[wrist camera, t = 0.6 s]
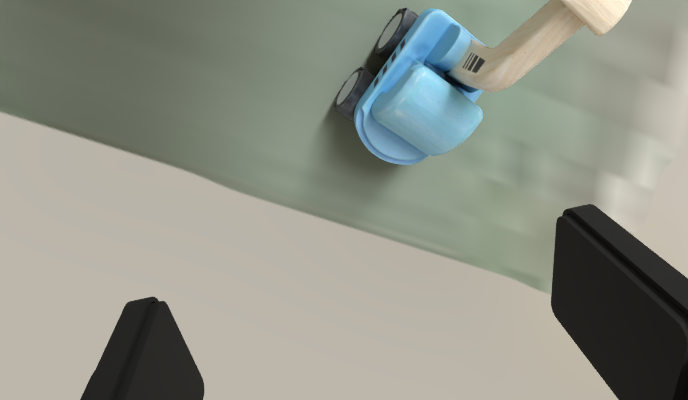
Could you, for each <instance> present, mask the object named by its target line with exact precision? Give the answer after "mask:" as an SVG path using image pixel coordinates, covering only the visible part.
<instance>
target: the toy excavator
mask: <svg viewBox="0 0 688 400" xmlns="http://www.w3.org/2000/svg"><path fill="white" fill-rule="evenodd" d="M631 1H632V0H550V1H549V2H548V3H547V4H545V5H544V6H543V7H542V8H541V9H540V10H539V11H537V12H536V13H535V14H534V15H533V16H532V17H531V18H530V19H528V20H527V21H526V22H525V23H524V24H523V25H521V26H520V27H519V28H518V29H517V30H516V31H514V32H513V33H512V34H511V35H510V36H509V37H507V38H506V39H505V40H504V41H503V42H501V43H500V44H499V45H498V46H496V47H494V48H492V49H491V48H489V47H486V46H485V45H484V44H483V43H481V42H480V41H479V40H478V39H476V38H475V37H474V36H473V35H472V34H471V33H469V32H468V31H467V30H466V29H465V28H463V27H462V26H461V25H460V24H458V23H457V22H456V21H455V20H454V19H452V18H451V17H450V16H449V15H447V14H446V13H445V12H444V11H442V10H439V9H433V8H430V9H427V10H425V11H424V12H422V13H421V14H420V15H419V16H418V15H416V14H415V13H414V12H412V11H410V10H409V9H407V8H403V9H399V10H398V11H397V13H396V14H395V15H394V16H393V18H392V19H391V20H390V22H389V23H388V25H387V27H386V28H385V29H384V32H383V33H382V36H381V37H380V38H379V41H378V43H377V45H376V47H375V53H376V54H377V55H379V56H381V57H382V58H384V59H385V60H386V61H387V62H386V63H385V65H384V66H383V68H382V69H381V70H380V72H379V73H378V75H377V76H376V77H375V76H374V75H373V74H371V73H370V72H368V71H367V70H365V69H363V68H362V67H360V68H358V69H357V70H356V71H354V73H353V74H352V76H351V77H350V78H349V80H347V81H345V83H344V85H343V86H342V89H341V90H340V91H339V93H338V96H337V97H336V101H335V105H334V106H335V110H336V111H337V112H339V113H340V114H342V115H344V116H345V117H346V118H348V119H349V120H351V121H352V122H354V123H355V127H356V130H357V132H358V135H359V137H360V139H361V141H362V142H363V144H364V145H365V146H366V147H367V149H368V150H369V151H370V152H372V153H373V154H374V155H375V156H377V157H378V158H380V159H382V160H384V161H387V162H389V163H393V164H399V165H411V164H416V163H419V162H421V161H422V160H424V159H425V158H426V157H427V156H429V155H433V156H435V155H441V154H444V153H447V152H449V151H451V150H453V149H454V148H456V147H457V146H459V145H460V144H461V143H463V142H464V141H465V140H466V139H467V138H468V137H469V136H470V135H471V134H472V133H473V131H474V130H475V129H476V128H477V126H478V125H479V124H480V122H481V121H482V118H483V112H482V110H481V108H480V107H479V106H478V105H476V104H475V103H474V102H475V101H476V99H477V98H478V97H479V96H480V94H481V93H482V92H483V91H489V92H496V91H501V90H503V89H505V88H507V87H509V86H511V85H512V84H514V83H515V82H516V81H518V80H519V79H520V78H521V77H523V76H524V75H525V74H526V73H527V72H529V71H530V70H531V69H532V68H533V67H535V66H536V65H537V64H538V63H539V62H540V61H542V60H543V59H544V58H545V57H546V56H548V55H549V54H550V53H551V52H552V51H554V50H555V49H556V48H557V47H558V46H560V45H561V44H562V43H563V42H564V41H566V40H567V39H568V38H569V37H570V36H572V35H573V34H574V33H575V32H576V31H578V30H579V29H580V28H581V27H582V26H583V25H586V26H587V27H588V28H589V29H590V30H591V31H592V32H593V33H594V34H595V35H598V36H602V35H604V34H605V33H606V32H608V31H609V30H610V29H611V28H612V27H613V26H614V25H615V24H616V23H617V22H618V21H619V20H620V19H621V17H622V16H623V15H624V13H625V12H626V11H627V9H628V7H629V5H630V3H631Z"/></svg>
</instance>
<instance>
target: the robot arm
mask: <svg viewBox="0 0 688 400" xmlns="http://www.w3.org/2000/svg"><path fill="white" fill-rule="evenodd" d="M551 306H552V310H553V313H554V315H555V317H556V318H557V319H558V321H559V322H560V323H561V325H562V326H563V327H564V328H565V330H566V331H567V332H568V334H569V335H570V336H571V338H572V339H573V340H574V342H575V343H576V344H577V346H578V347H579V348H580V350H581V351H582V352H583V353H584V355H585V356H586V357H587V359H588V360H589V361H590V363H591V364H592V365H593V367H594V368H595V369H596V370H597V372H598V373H599V374H600V376H601V377H602V378H603V380H604V381H605V382H606V384H607V385H608V386H609V387H610V389H611V390H612V391H613V393H614V394H615V395H616V397H617V398H618V399H619V400H688V279H687V278H686V277H685V276H684V275H682V274H681V273H680V272H679V271H677V270H676V269H675V268H673V267H672V266H671V265H670V264H668V263H667V262H666V261H664V260H663V259H662V258H661V257H659V256H658V255H657V254H656V253H654V252H653V251H651V249H649V248H648V247H647V246H645V245H644V244H643V243H642V242H640V241H639V240H638V239H636V238H635V237H634V236H633V235H631V234H630V233H629V232H628V231H626V230H625V229H624V228H622V227H621V226H620V225H619V224H617V223H616V222H615V221H614V220H612V219H611V218H610V217H608V216H607V215H606V214H605V213H603V212H602V211H601V210H600V209H598V208H597V207H596V206H594V205H592V204H588V205H583V206H579V207H574V208H569V209H566V210H565V211H564V212H563V215H562V216H561V217H559V218H558V219H557V223H556V237H555V252H554V266H553V281H552V296H551ZM203 396H204V383H203V379H202V377H201V374H200V372H199V370H198V368H197V366H196V364H195V362H194V360H193V358H192V356H191V354H190V351H189V349H188V347H187V345H186V343H185V341H184V339H183V337H182V335H181V332H180V331H179V328H178V326H177V324H176V322H175V320H174V318H173V316H172V314H171V312H170V309H169V307H168V305H167V304H166V302H164V301H160V302H159V301H158V299H157V298H155V297H149V298H144V299H140V300H135V301H130V302H128V303H127V304H126V306H125V307H124V309H123V311H122V314H121V316H120V318H119V320H118V322H117V325H116V327H115V329H114V331H113V333H112V335H111V338H110V340H109V342H108V344H107V346H106V348H105V351H104V353H103V355H102V357H101V359H100V361H99V363H98V366H97V368H96V370H95V371H94V373H93V375H92V376H91V378H90V380H89V382H88V384H87V387H86V389H85V391H84V393H83V395H82V397H81V399H80V400H203Z"/></svg>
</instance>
